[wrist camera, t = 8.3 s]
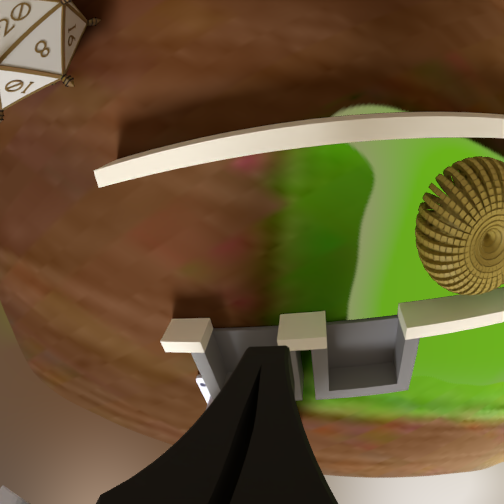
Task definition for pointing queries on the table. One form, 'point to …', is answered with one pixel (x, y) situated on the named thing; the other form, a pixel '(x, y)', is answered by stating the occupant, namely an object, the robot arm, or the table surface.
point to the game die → (37, 46)
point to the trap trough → (314, 323)
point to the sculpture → (464, 227)
